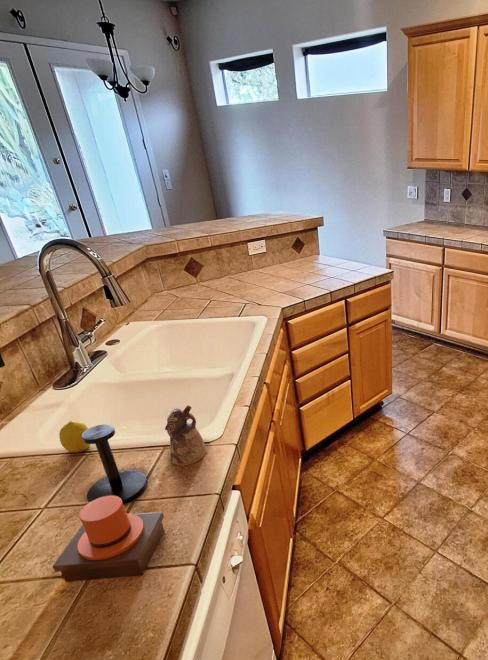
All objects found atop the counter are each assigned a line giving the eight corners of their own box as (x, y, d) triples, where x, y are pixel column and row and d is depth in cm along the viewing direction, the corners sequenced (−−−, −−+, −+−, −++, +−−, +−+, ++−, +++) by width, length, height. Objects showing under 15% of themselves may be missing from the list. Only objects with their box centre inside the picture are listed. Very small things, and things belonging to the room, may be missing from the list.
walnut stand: (61, 584, 65) (52, 566, 64) (95, 534, 74) (88, 516, 73) (144, 577, 67) (137, 559, 65) (167, 528, 76) (162, 511, 74)
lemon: (68, 448, 96) (56, 418, 93) (97, 442, 98) (87, 412, 95) (64, 462, 92) (51, 431, 88) (95, 455, 94) (83, 425, 90)
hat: (65, 562, 64) (51, 532, 62) (96, 518, 72) (85, 489, 70) (129, 557, 65) (118, 527, 63) (153, 514, 73) (143, 486, 71)
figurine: (168, 452, 96) (156, 405, 90) (202, 442, 99) (192, 397, 94) (173, 469, 90) (160, 421, 85) (209, 458, 94) (198, 411, 88)
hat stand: (77, 511, 79) (51, 449, 73) (104, 476, 88) (83, 418, 82) (134, 507, 80) (113, 446, 74) (155, 473, 89) (138, 415, 83)
